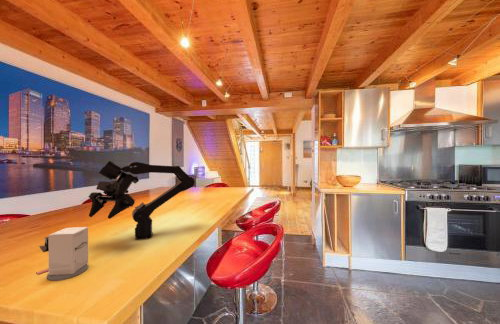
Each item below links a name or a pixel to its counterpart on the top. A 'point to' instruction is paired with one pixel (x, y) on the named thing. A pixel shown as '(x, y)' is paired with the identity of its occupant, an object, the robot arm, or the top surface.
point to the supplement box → (68, 250)
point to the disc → (66, 276)
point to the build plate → (45, 247)
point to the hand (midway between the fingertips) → (99, 217)
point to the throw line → (42, 271)
